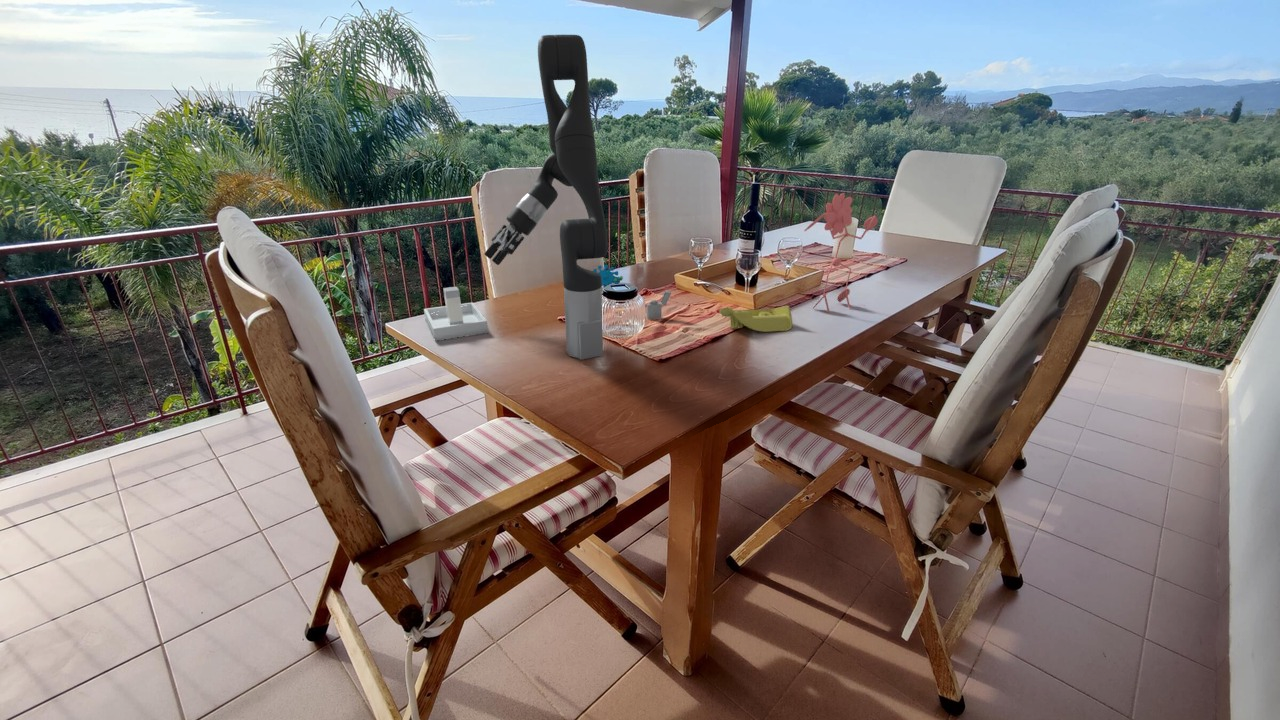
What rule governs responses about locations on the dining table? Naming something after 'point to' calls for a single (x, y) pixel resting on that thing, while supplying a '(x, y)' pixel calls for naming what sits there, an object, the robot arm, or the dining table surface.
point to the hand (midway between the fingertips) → (490, 259)
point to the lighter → (657, 306)
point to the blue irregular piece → (608, 275)
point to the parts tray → (470, 326)
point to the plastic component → (760, 318)
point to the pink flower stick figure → (836, 222)
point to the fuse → (453, 305)
